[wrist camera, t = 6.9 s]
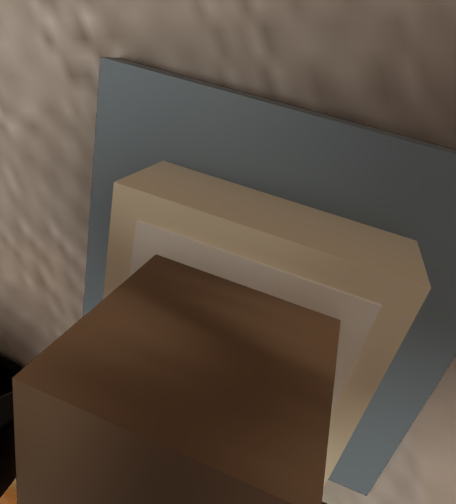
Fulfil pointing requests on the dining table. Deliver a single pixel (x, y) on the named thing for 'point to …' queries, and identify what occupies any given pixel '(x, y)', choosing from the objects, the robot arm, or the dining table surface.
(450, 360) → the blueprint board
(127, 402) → the walnut block
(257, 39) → the dining table surface
